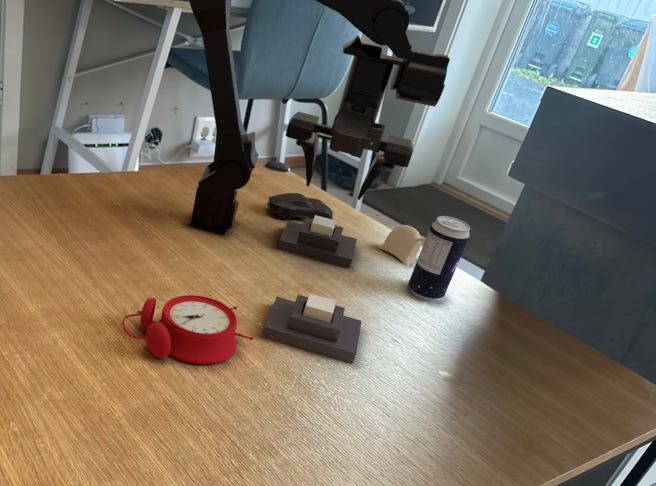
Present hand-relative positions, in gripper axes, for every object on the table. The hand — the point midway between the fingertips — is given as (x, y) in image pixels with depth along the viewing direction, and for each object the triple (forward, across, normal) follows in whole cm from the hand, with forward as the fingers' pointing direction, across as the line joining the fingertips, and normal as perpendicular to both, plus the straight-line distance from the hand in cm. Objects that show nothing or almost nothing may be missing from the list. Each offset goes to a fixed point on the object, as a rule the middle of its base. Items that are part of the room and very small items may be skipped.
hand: (333, 192), depth 112 cm
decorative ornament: (+10, +14, +6) cm, 18 cm away
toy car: (+10, -5, +12) cm, 16 cm away
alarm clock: (+10, -12, -39) cm, 42 cm away
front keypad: (+10, +3, -28) cm, 30 cm away
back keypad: (+10, 0, 0) cm, 10 cm away
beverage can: (+10, +18, -6) cm, 22 cm away
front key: (+7, +3, -28) cm, 29 cm away
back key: (+7, 0, 0) cm, 7 cm away
